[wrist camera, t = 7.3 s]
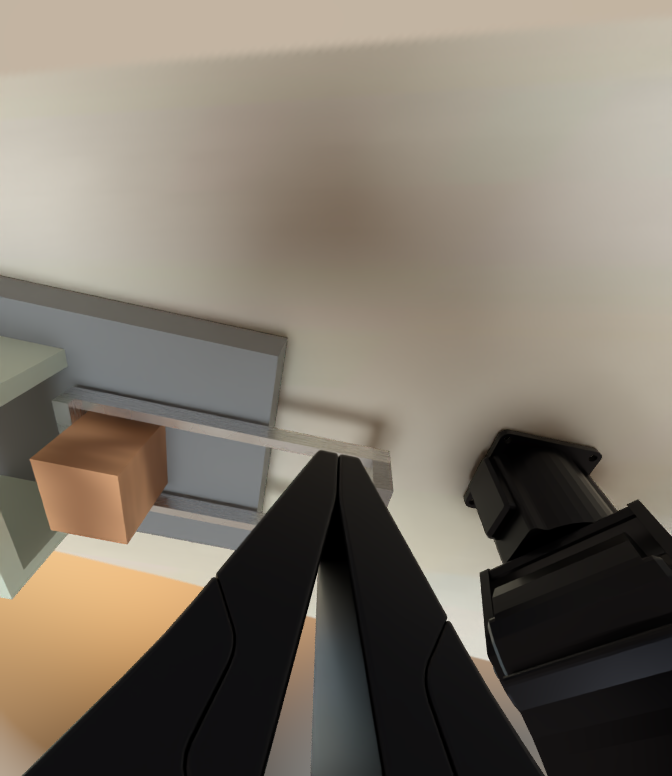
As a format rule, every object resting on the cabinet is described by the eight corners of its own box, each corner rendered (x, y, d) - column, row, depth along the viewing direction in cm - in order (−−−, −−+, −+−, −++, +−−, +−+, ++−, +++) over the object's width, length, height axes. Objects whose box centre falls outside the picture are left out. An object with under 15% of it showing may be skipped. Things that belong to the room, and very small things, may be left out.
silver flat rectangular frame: (389, 451, 20) (393, 491, 17) (357, 537, 24) (357, 581, 21) (72, 386, 19) (26, 417, 17) (92, 486, 23) (57, 524, 20)
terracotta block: (165, 420, 20) (117, 476, 16) (167, 483, 23) (127, 544, 19) (94, 406, 20) (29, 458, 16) (105, 470, 23) (50, 530, 19)
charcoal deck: (287, 338, 20) (278, 356, 18) (259, 524, 28) (251, 553, 26) (-194, 233, 19) (-267, 239, 17) (-81, 458, 27) (-120, 482, 25)
